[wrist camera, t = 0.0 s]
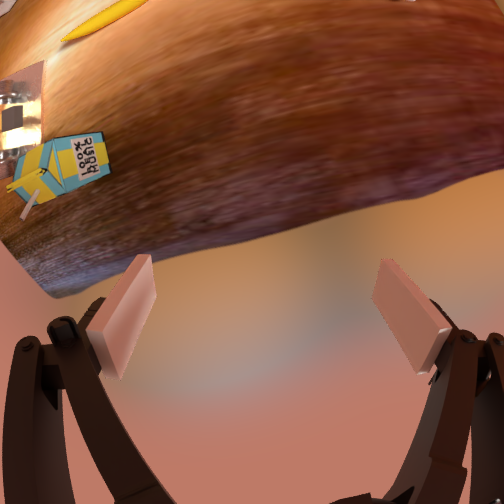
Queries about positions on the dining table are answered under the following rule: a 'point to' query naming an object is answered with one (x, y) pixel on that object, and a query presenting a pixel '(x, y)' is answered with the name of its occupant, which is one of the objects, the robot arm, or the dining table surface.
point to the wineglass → (6, 6)
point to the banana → (104, 18)
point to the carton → (59, 168)
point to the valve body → (32, 98)
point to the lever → (11, 118)
